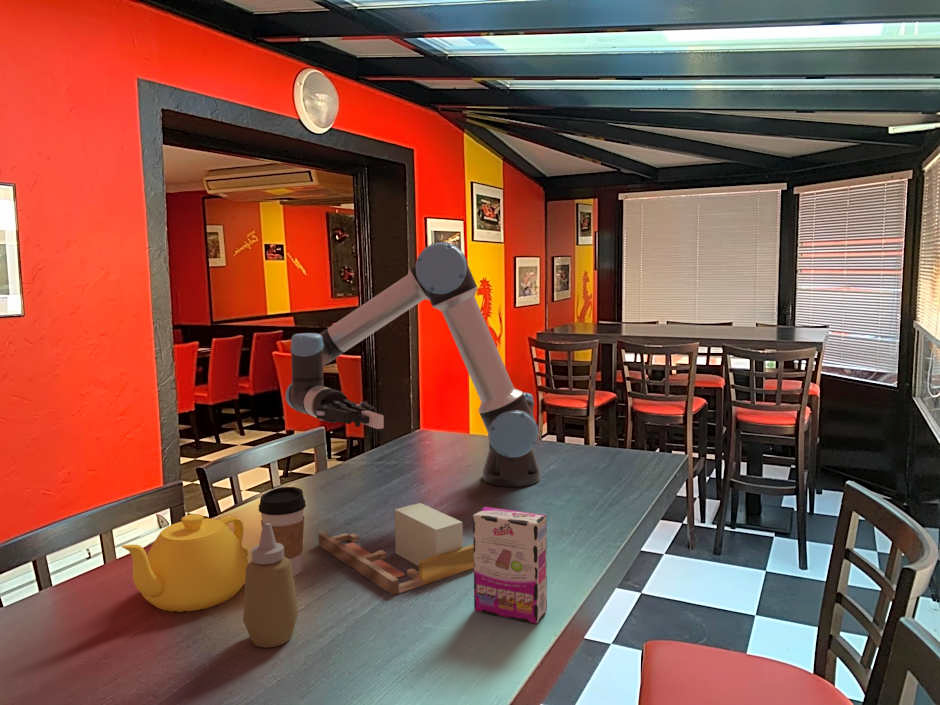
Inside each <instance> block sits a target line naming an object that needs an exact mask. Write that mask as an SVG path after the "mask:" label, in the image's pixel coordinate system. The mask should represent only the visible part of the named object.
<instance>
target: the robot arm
mask: <svg viewBox="0 0 940 705" xmlns="http://www.w3.org/2000/svg"><path fill="white" fill-rule="evenodd" d="M477 290H478V285H477V284H476V280H475V278H474V276H473V275H472V271H471V269H470V266H469V264H468V260H467V257H466V255H465V254H464V252H463V251H462V250H461V249H460V248H459V247H458V246H456V245H454V244H453V243H450V242H446V241H436V242H434V243H431V244H429V245H428V246H426V247H425V248H423V249H422V251H421V252H420V253H419V255H418V256H417V259H416V262H415V264H414V265H413V266H411V267H409V268H408V272H407V274H406V275H405V276H403V277H402V278H400V279H399V280H398V281H397V282H394V283H393V284H391V286H389V287H387V288H386V289H384V290H382V292H381V291H380V292H379V293H378V294H377V295H375V296H374V297H372V298H371V299H369V300H368V301H367V302H365V303H364V304H362V305H360V306H359V307H357V308H355V310H352V311H351V312H350V313H348V314H347V315H345V316H344V317H343V318H341V319H339V320H338V321H337V322H335V323H334V324H331V326H329V327H327V329H324V330H323V331H321V332H320V333H316V332H303V333H301V332H300V333H294V334H293V335H292V336H291V340H290V341H291V342H290V348H289V350H290V353H291V354H290V355H291V358H290V359H291V383H290V384H289V385H288V386H287V389H286V391H285V396H284V397H285V401H286V403H287V404H288V406H289V407H290V408H292V409H294V410H295V411H296V412H298V413H301V414H305V415H308V416H311V417H314V418H316V419H318V420H319V421H323V422H327V423H330V424H335V423H337V422H338V423H342V424H346V425H350V424H352V423H354V424H355V425H354V426H355V427H357V428H358V427H361V424H362V425H365V426H368V427H370V428H373V429H377V430H381V429H384V424H385V423H384V418H385V417H384V415H383V414H380V413H377V408H376V407H374V406H373V405H371V404H369V403H368V401H366V400H363V401H362V402H359V404H356V402H355V401H351V400H350V399H348V397H347V395H346V394H344V392H342V391H340V390H336V389H333V388H330V387H327V386H324V367H325V365H328V364H330V363H331V362H333V361H334V360H335V359H336V358H338V357H340V356H341V355H343V353H345V352H347V351H348V350H349V349H352V348H353V347H355V346H356V345H357V344H359V343H360V342H362V341H364V340H365V339H367V338H368V337H370V336H371V335H372V334H374V333H376V332H377V331H379V330H380V329H382V328H383V327H385V326H386V325H388V324H389V323H391V322H392V321H394V320H395V319H397V318H398V317H400V316H401V315H403V314H405V313H406V312H408V311H409V310H411V309H412V308H414V307H415V306H416V305H418V304H420V303H421V302H423V301H424V300H426V301H429V302H430V304H431V306H432V308H433V309H436V310H438V311H440V312H441V313H442V316H443V318H444V320H445V322H446V324H447V327H448V329H449V331H450V334H451V336H452V339H453V340H454V343H455V345H456V347H457V349H458V352H459V355H460V357H461V359H462V361H463V363H464V366H465V367H466V368H465V369H466V370H467V373H468V375H469V376H470V380H471V382H472V384H473V386H474V388H475V391H476V393H477V395H478V398H479V400H480V404H479V408H478V413H479V415H480V417H481V419H482V423H483V425H484V427H485V429H486V432H487V437H488V453H487V455H486V458H485V462H484V466H483V468H482V480H483V481H484V482H486V483H487V484H489V485H493V486H498V487H510V488H512V487H513V488H514V487H517V488H518V487H526V486H530V485H534V484H536V483H538V482H540V480H541V470H540V466H539V463H538V460H537V457H536V454H535V450H534V447H535V446H536V444H537V442H538V438H539V431H540V430H539V425H538V424H537V421H536V420H535V416H534V405H535V401H534V396H533V394H532V393H529V392H523V391H522V390H519V389H517V388H516V387H514V384H513V382H512V381H511V378H510V375H509V373H508V371H507V369H506V366H505V363H504V361H503V359H502V357H501V355H500V353H499V349H498V348H497V345H496V343H495V341H494V339H493V337H492V333H491V332H490V328H489V327H488V325H487V322H486V320H485V317H484V315H483V313H482V311H481V308H480V306H479V305H478V302H477V299H476V292H477Z"/></svg>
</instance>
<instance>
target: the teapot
mask: <svg viewBox="0 0 940 705" xmlns="http://www.w3.org/2000/svg"><path fill="white" fill-rule="evenodd" d="M204 517H205V516H204V515H203V514H201V513H200V514H199V513H191V514H187V515H185V516H183V517H181V519H180V520H181V521H179V522H176V523H173V524H170V525H169V526H166V527H164V529H162V530H161V531H160V532H159V534H158V535H157V536H156V539H155V540H154V542H153V544H152V546H151V547H150V549H149V550H148V552H147V551H146V550H145V548H144V547H142V545H139V544H124V545H123V544H122V545H121V548H123V549H124V550H127V551H128V552H129V553H130V556H131V558H132V579H133V583H134V587H135V588H136V589H137V590H138V591H139V592H140V594H141V595H142V597H143V598H144V599H145V600H146V601H147V602H148V603H150V604H151V605H153V606H154V607H156V608H157V609H160V610H162V611H166V610H167V611H168V612H173V611H177V612H176V613H182V612H183V611H187V612H195V611H200V609H201V610H204V609H208V608H212V607H215V606H218V605H220V604H222V603H225V602H226V601H229V600H230V599H232V598H233V597H234V596H235V595H237V594H238V592H240V590H241V589H242V587H243V586H245V578H246V567H247V565H248V564H249V563H250V562H249V559H248V555H249V550H248V549H247V546H245V545H242V544H243V537H244V536H243V535H244V524H243V522H242V520H241V519H240V518H238V517H237V516H236V517H235V516H232V515H228V516H223V517H222V518H220V519H216V518H215V519H214V518H204ZM231 523H232V524H233V531H232V530H231V529H230V527H229V526H228V524H231ZM194 610H195V611H194ZM167 611H166V612H167Z"/></svg>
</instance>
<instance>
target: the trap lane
mask: <svg viewBox="0 0 940 705" xmlns="http://www.w3.org/2000/svg"><path fill="white" fill-rule="evenodd" d="M345 541H351V542H349V543H345V544H344V543H343V542H345ZM356 542H360V536H359V535H357V534H356V533H351V534H348V533H342V534H338V535H335V536H331V535H329V534H328V533H326V532H325V531H322V532H319V533H318V546H319V547H321V548H322V549H324V550H325V551H327V552H328V553H330V554H331V555H333V556H334V557H335V558H336V559H339V560H340V561H342V562H343V563H344V564H346V565H347V566H349V567H350V568H352V569H353V570H355V571H357V573H359V574H361V575H362V576H364V577H365V578H367V579H368V580H369V581H371V582H372V583H374V584H376V585H377V586H378V587H380V588H381V589H383V590H384V591H386V592H388V593H389V594H390V595H391V596H395V595H398V594H399V595H400V594H401V593H404V592H407V591H411V590H413V589H415V588H418V587H421V586H425V585H427V584H431V583H433V582H437V581H439V580H442V579H446V578H449V577H452V576H454V575H456V574H460V573H463V572H465V571H469V570H471V569H474V546H473V543H472V544H469V545H467V546H463V548H460V549H456V550H453V551H450V552H447V553H444V554H441V555H437V556H434V557H431V558H428V559H425V560H422V561H419V566H418V570H416V569H414V568H409V569H407V570H406V574H405V573H404V572H402V571H400V570H398V568H395V567H394V566H393V565H391V564H389V563H388V562H386V561H384V560H385V559H387V558H388V552H386V551H384V550H382V549H380V550H376V551H375V552H373V553H371V552H370V551H368V550H366V549H365V548H364V547H362V546H361V545H358V544H357V543H356ZM405 576H408V577H409V578H410V580H407V581H405V582H401V583H399V582H400V581H399V580H400V579H398V578H402V577H405Z"/></svg>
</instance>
